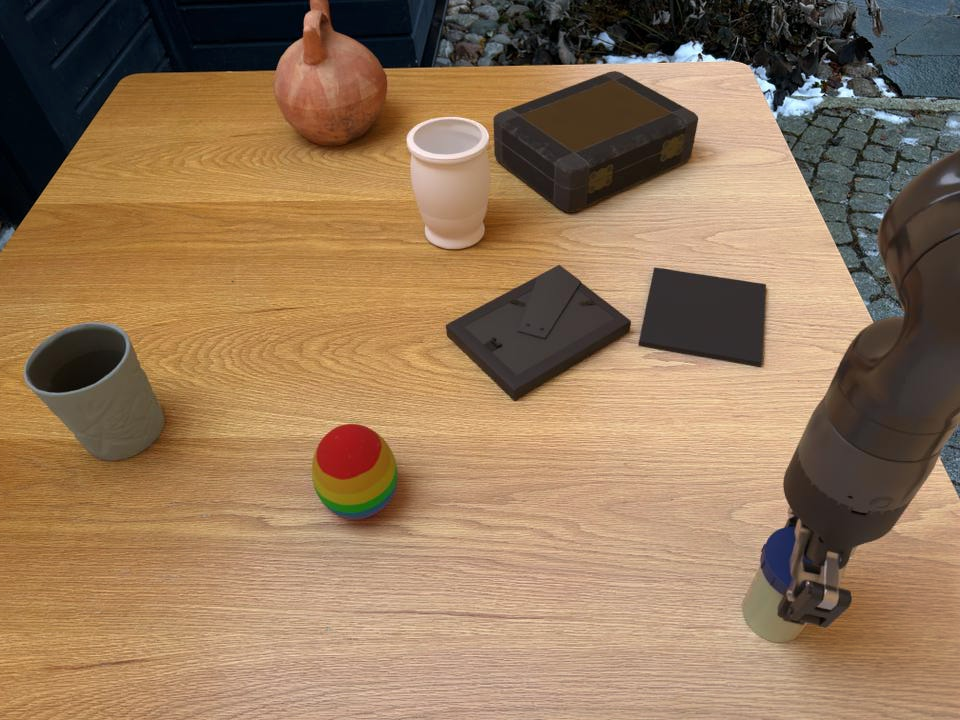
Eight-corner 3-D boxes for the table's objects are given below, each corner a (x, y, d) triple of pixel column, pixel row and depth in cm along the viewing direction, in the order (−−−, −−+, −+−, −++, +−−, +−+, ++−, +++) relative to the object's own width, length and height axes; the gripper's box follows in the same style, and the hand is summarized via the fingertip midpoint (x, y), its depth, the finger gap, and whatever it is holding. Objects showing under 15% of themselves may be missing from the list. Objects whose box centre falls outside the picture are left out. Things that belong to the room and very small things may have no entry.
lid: (835, 545, 61) (841, 535, 60) (838, 611, 57) (844, 602, 56) (761, 529, 62) (765, 519, 61) (758, 592, 58) (763, 583, 57)
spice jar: (803, 594, 67) (836, 540, 60) (803, 649, 63) (838, 599, 57) (743, 580, 68) (768, 525, 61) (740, 633, 64) (766, 582, 58)
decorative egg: (323, 465, 78) (304, 404, 71) (401, 459, 79) (389, 397, 71) (317, 534, 73) (295, 475, 65) (401, 527, 73) (388, 468, 66)
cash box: (609, 109, 127) (613, 65, 122) (695, 160, 115) (704, 114, 110) (487, 157, 118) (486, 111, 113) (567, 218, 106) (570, 171, 101)
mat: (764, 288, 95) (766, 283, 94) (760, 367, 86) (762, 362, 85) (653, 271, 98) (654, 267, 97) (638, 345, 89) (639, 341, 88)
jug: (386, 156, 120) (368, 30, 105) (275, 159, 120) (241, 35, 106) (396, 100, 132) (381, -19, 118) (295, 103, 133) (268, -15, 118)
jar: (402, 239, 105) (389, 143, 94) (446, 202, 110) (438, 108, 99) (464, 265, 100) (457, 167, 89) (506, 225, 106) (505, 129, 95)
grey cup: (181, 440, 81) (140, 366, 73) (86, 483, 78) (31, 410, 69) (155, 383, 87) (115, 307, 79) (66, 420, 84) (14, 346, 75)
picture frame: (558, 276, 98) (446, 335, 91) (558, 262, 96) (445, 322, 89) (629, 332, 90) (514, 401, 83) (631, 318, 89) (514, 388, 82)
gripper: (799, 370, 54) (747, 497, 67) (799, 540, 45) (738, 652, 57) (911, 389, 53) (836, 516, 65) (935, 570, 43) (843, 679, 56)
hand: (791, 580), depth 61 cm, fingers closed on lid, 5 cm apart
